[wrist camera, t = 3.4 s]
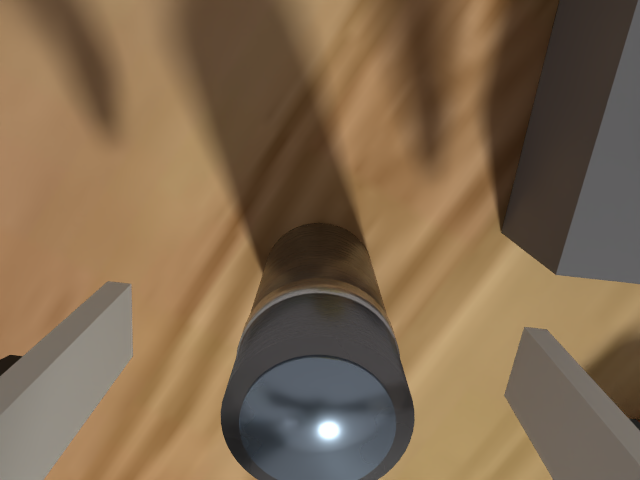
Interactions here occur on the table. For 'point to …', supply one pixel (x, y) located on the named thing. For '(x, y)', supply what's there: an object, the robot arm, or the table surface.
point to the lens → (318, 367)
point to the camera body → (584, 147)
